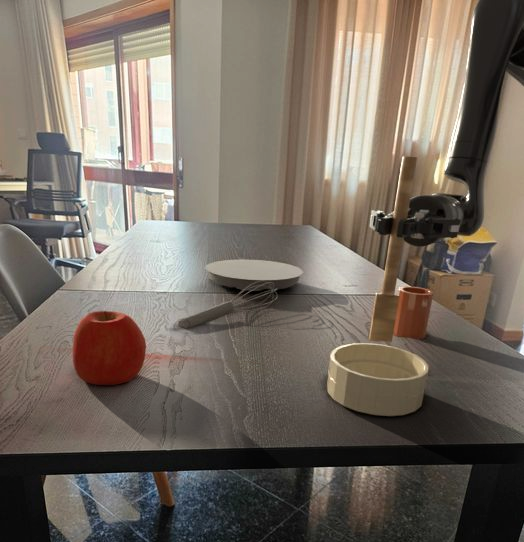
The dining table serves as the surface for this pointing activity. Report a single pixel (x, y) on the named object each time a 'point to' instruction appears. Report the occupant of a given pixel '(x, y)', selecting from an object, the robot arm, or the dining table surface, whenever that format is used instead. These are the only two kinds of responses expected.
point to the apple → (108, 348)
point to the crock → (413, 312)
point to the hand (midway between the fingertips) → (391, 227)
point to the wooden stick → (393, 260)
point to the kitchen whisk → (219, 310)
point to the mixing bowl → (377, 379)
